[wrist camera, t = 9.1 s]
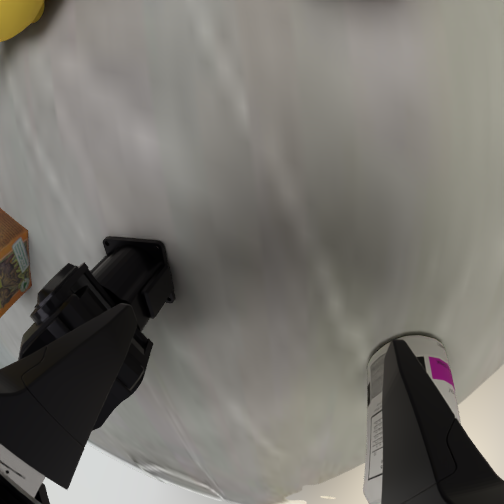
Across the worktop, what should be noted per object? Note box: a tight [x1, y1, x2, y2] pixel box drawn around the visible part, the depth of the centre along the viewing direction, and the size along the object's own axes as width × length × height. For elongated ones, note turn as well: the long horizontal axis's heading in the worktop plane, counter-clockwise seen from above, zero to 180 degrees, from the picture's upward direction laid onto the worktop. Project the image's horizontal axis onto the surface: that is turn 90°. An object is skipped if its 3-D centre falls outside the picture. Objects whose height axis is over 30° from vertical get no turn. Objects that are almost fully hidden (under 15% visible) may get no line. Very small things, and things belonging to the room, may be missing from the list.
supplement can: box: [363, 335, 461, 504], centre depth 20 cm, size 8×8×15 cm
